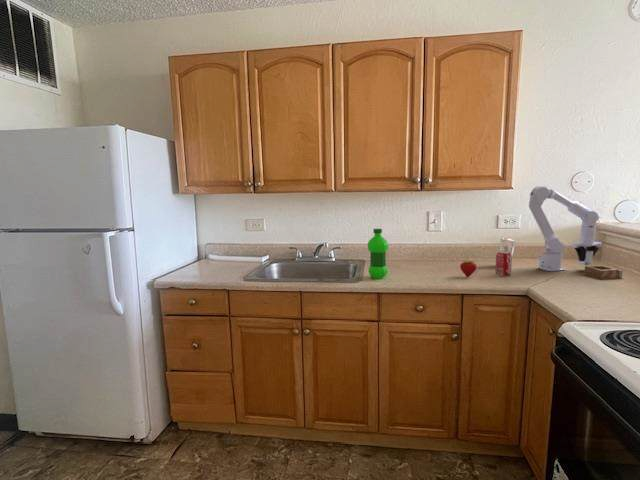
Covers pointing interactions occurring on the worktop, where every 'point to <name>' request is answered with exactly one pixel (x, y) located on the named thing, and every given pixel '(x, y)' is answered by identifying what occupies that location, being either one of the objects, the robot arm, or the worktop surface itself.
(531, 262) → the worktop surface
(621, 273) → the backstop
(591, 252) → the grey rectangular block
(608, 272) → the square wooden frame
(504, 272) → the soda can
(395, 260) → the worktop surface
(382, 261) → the plastic bottle
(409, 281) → the worktop surface
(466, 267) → the strawberry
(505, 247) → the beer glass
